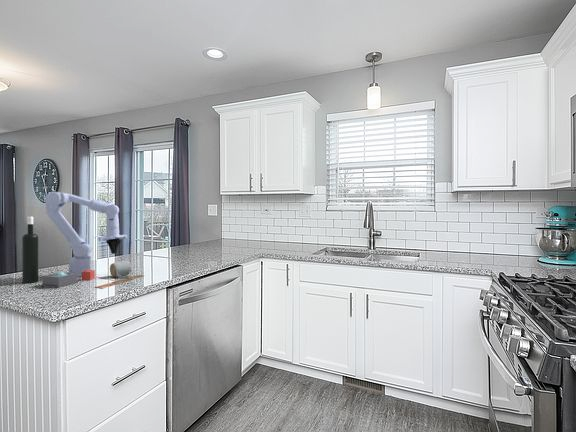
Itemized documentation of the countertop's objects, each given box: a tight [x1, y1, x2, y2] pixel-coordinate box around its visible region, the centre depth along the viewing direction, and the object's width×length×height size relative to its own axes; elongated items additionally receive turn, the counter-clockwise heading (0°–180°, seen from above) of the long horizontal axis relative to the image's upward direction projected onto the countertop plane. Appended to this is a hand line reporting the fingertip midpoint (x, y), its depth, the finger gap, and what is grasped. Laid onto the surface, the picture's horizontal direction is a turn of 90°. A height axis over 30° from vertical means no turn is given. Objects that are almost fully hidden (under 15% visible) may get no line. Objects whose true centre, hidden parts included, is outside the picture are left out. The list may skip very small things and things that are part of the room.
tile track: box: [94, 274, 145, 289], centre depth 153 cm, size 4×26×1 cm, turn 165°
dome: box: [52, 270, 68, 277], centre depth 145 cm, size 6×6×4 cm
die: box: [81, 269, 96, 281], centre depth 156 cm, size 4×4×4 cm
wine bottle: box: [21, 216, 39, 284], centre depth 148 cm, size 6×6×30 cm
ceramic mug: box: [109, 260, 132, 279], centre depth 163 cm, size 11×8×8 cm
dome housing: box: [41, 271, 78, 289], centre depth 145 cm, size 9×9×4 cm
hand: (113, 253), depth 170 cm, fingers closed
